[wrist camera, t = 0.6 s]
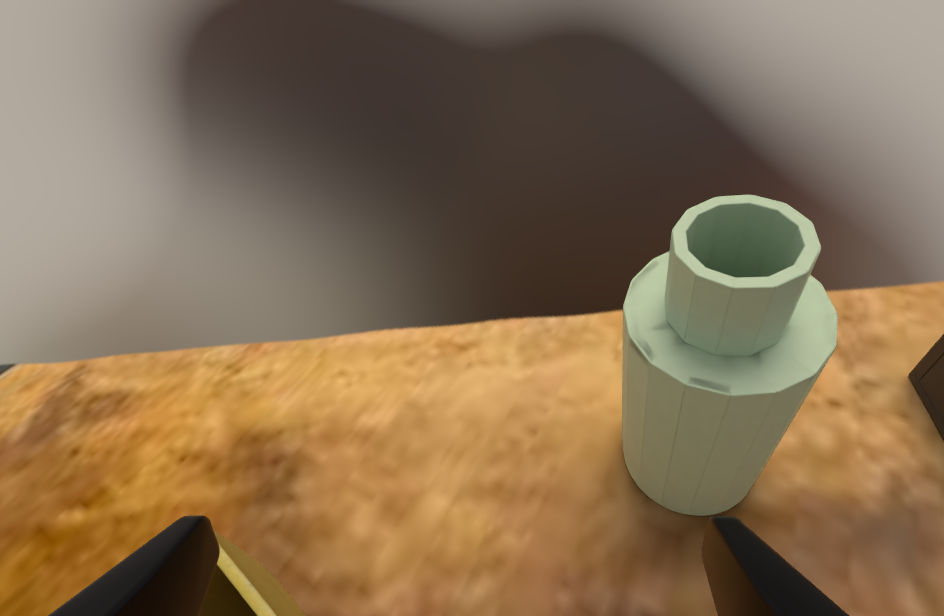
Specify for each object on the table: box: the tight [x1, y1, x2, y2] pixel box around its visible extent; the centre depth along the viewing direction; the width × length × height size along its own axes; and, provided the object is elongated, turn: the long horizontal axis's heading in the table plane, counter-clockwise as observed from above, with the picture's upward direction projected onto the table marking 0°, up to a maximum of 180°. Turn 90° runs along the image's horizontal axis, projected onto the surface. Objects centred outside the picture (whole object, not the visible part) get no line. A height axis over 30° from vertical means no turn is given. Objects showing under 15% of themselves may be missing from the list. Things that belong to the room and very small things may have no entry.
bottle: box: [622, 195, 838, 516], centre depth 18 cm, size 6×6×14 cm
